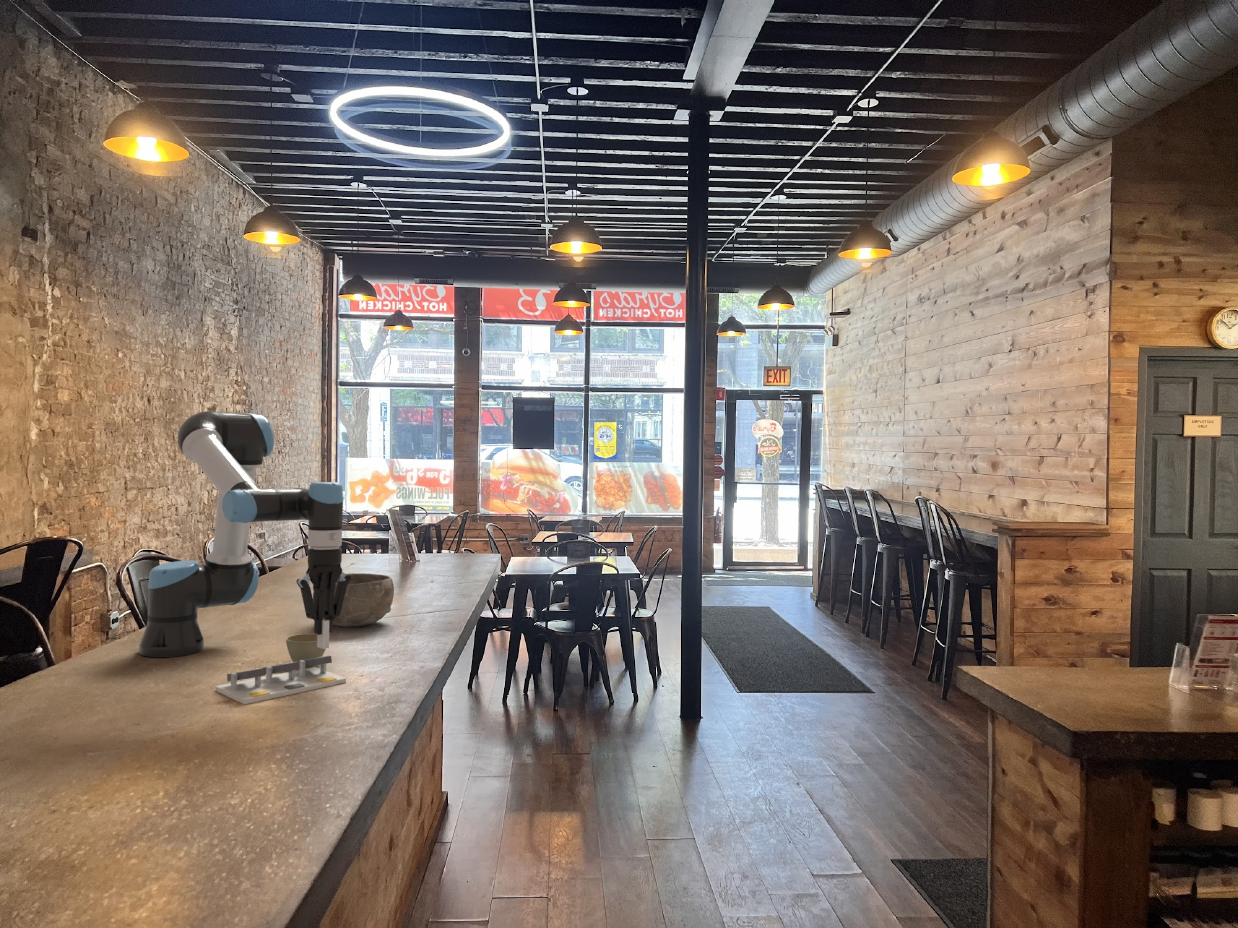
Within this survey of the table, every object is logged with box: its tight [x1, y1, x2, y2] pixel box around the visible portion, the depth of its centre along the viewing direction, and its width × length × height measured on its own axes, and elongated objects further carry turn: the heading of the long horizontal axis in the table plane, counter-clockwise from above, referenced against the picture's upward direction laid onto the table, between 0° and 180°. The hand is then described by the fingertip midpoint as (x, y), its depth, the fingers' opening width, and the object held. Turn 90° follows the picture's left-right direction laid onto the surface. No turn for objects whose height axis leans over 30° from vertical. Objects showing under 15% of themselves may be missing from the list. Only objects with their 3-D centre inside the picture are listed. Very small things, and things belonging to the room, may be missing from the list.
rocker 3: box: [296, 655, 333, 667], centre depth 192 cm, size 10×4×2 cm, turn 50°
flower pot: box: [285, 633, 326, 669], centre depth 203 cm, size 10×10×7 cm
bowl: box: [312, 572, 395, 627], centre depth 251 cm, size 24×24×15 cm
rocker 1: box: [226, 667, 266, 682], centre depth 180 cm, size 10×4×2 cm, turn 50°
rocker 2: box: [263, 661, 300, 674], centre depth 186 cm, size 10×4×2 cm, turn 50°
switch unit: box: [215, 655, 347, 705], centre depth 185 cm, size 14×24×5 cm, turn 140°
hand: (322, 647), depth 189 cm, fingers closed
